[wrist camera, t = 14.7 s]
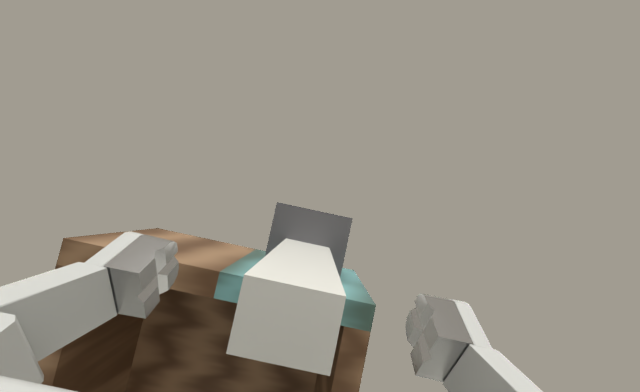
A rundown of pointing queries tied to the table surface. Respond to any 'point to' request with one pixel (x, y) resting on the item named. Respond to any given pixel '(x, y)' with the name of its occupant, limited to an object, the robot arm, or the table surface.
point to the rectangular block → (294, 293)
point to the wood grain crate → (197, 331)
